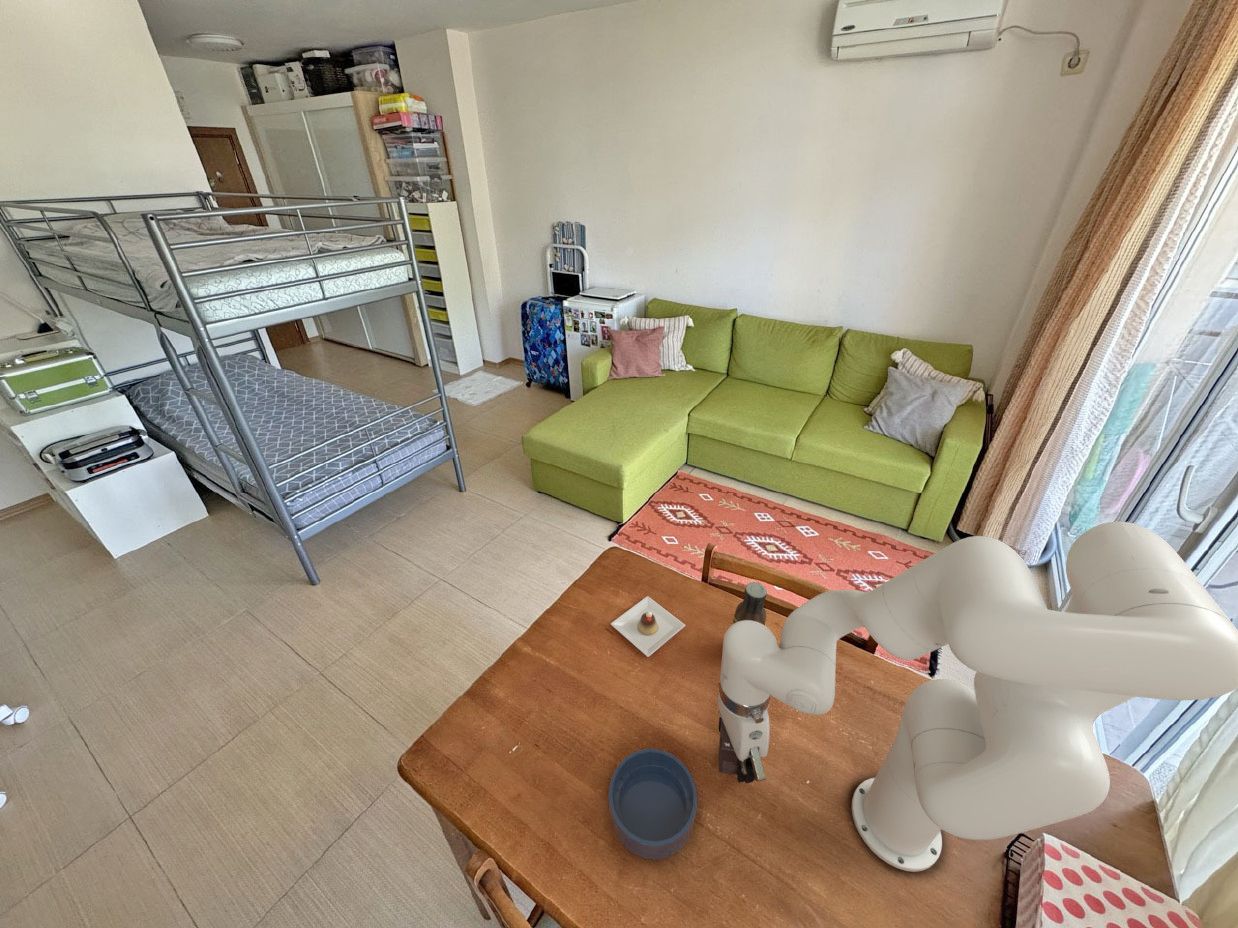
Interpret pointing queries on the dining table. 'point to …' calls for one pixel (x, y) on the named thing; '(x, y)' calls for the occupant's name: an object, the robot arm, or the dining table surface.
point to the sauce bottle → (752, 604)
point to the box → (727, 754)
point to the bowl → (652, 803)
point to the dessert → (647, 625)
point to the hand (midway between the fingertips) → (736, 752)
